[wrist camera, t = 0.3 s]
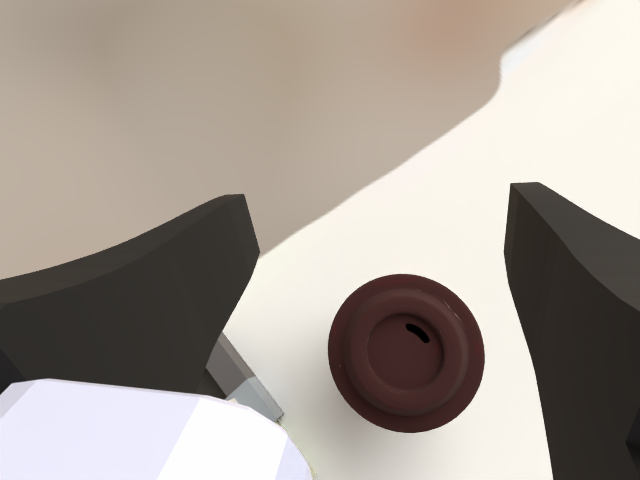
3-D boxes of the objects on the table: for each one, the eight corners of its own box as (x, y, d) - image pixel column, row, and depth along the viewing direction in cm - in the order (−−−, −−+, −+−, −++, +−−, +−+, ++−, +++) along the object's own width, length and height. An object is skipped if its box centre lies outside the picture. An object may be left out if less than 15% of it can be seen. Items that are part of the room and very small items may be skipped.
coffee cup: (368, 411, 39) (353, 461, 24) (334, 309, 41) (303, 300, 27) (470, 378, 38) (520, 411, 23) (430, 276, 40) (451, 248, 26)
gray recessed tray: (283, 413, 40) (276, 418, 37) (183, 504, 40) (170, 515, 37) (220, 329, 43) (210, 329, 40) (126, 414, 42) (110, 419, 40)
